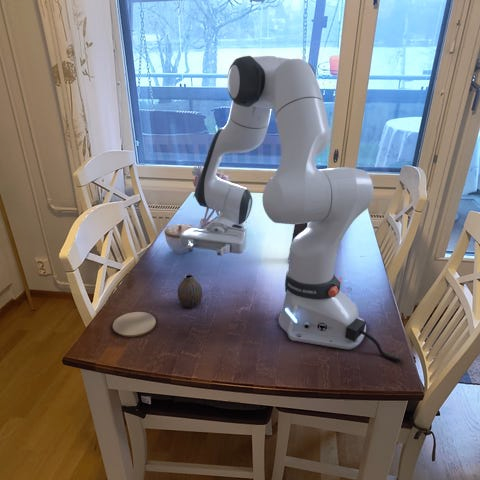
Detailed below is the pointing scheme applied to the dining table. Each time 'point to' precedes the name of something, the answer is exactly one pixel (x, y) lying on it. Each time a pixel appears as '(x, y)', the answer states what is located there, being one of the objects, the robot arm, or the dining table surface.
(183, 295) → the vase
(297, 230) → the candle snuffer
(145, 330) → the cork trivet
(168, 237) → the trinket box
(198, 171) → the flower
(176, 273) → the dining table surface
